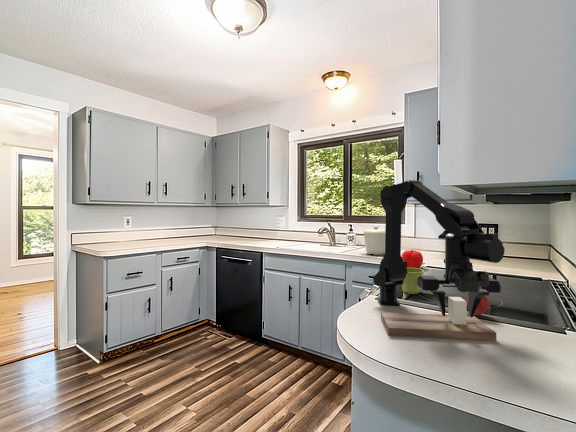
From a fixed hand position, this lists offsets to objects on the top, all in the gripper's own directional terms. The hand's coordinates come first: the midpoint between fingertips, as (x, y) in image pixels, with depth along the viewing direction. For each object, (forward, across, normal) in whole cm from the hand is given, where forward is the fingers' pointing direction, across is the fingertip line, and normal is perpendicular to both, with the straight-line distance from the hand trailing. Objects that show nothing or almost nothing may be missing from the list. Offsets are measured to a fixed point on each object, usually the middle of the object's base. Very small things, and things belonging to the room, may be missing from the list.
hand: (457, 316), depth 81 cm
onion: (+4, +10, +13) cm, 17 cm away
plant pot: (+4, -2, +38) cm, 38 cm away
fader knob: (+1, 0, 0) cm, 1 cm away
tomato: (+4, +11, +90) cm, 90 cm away
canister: (+4, -1, +143) cm, 143 cm away
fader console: (+4, -6, 0) cm, 7 cm away
